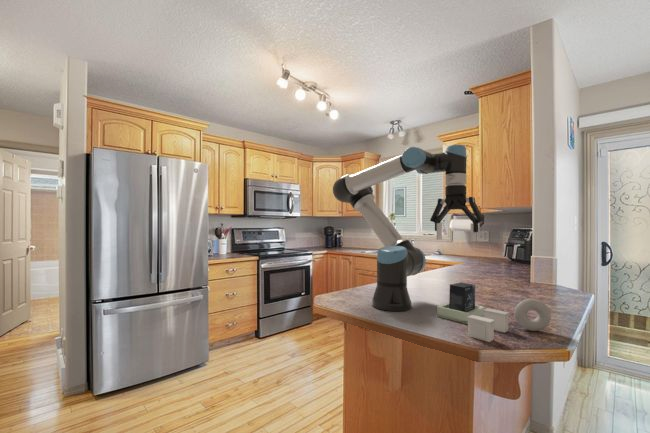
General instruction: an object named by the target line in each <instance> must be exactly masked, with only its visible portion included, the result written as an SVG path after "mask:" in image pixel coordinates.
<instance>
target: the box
mask: <svg viewBox="0 0 650 433" xmlns="http://www.w3.org/2000/svg"><path fill="white" fill-rule="evenodd" d="M448 300H449V302H448V303H449V309H453V310H458V311H462V312H469V311H472V310H474V309H475V305H476V284H472V283H466V282H462V281H461V282H457V283H451V284H449V298H448Z"/></svg>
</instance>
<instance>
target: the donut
mask: <svg viewBox="0 0 650 433" xmlns="http://www.w3.org/2000/svg"><path fill="white" fill-rule="evenodd" d="M532 310H533V311H536V312H537V317H536V318H535V319H530V318H528V313H529V311H532ZM513 315H514V319H515V321H516V322H517V324H518V325H519V326H520V327H521V328H523V329H525V330H527V331H530V332H539V331H542V330H544V329H546V328H547V327H548V326H549V325H550V323H551V320H552V314H551V310H550V308H549V306H547V304H545V303H544V302H543V301H541V300H539V299H535V298H525V299H522V300H521V301H519V302H518V303H517V305H516V306H515V308H514V312H513Z"/></svg>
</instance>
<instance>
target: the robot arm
mask: <svg viewBox="0 0 650 433" xmlns="http://www.w3.org/2000/svg"><path fill="white" fill-rule="evenodd" d="M467 158H468V156H467V148H466V146H465V145H463V144H450V145H448V146H446V148H445V150H444V152H441V153H439V152H438V153H431V152H428V151H426V150H424V149H423V148H421V147H415V146H409V147H407V148H406V149H404V150H403V152H402V154H400V155H397V156H395V157H392V158H390V159H388V160H385V161H383V162H380V163H378V164H376V165H374V166H371V167H368V168H366V169H364V170H361V171H359V172H356V173H354V174H352V173H348V174H345V175H343V176H340V177H339V178H337V179H336V180H335V182H334V183H333V186H332V193H333V196H334V198H335V199H336V200H337V201H339V202H340V203H347V204H350V205H351V207H352V208H353V210H354V211H356V212H360V214H361V216H362V217H363V218H364V219H365V221H366V223H368V225H369V227H370V228H371V229H372V230H373V233H374V234H375V235H376V236H377V237H378V239H379V240H380V241H381V244H382V245H383V247H380V248H378V250H377V253H376V254H377V255H376V288H375V291H374V294H373V296H372V299H371V301H372V302H371V303H372V304H371V305H372V307H374V308H376V309H378V310H381V311H387V312H405V311H409V310H411V309H412V300H411V297H410V293H409V290H408V286H407V285H408V277H411V276H415V275H417V274H420V273H421V272H423V270H424V269H425V267H426V260H427V259H426V256H425V254H424V252H423V251H422V249H420V248H418V247H415V246H414V245H413V244H412V243H411V241H410V240H409V239H405V238H403V237H402V235H401V234H400V232H399V231H398V230H397V228H395V226H394V225H393V223H392V222H391V221H390V219H389V218H388V217H387V216H386V214H385V213H384V212H383V210H382V209H381V207H380V206H379V205H378V204H377V203H376V201H375V199H376V198H375V197H376V196H375V195H374V189H373V186H375V185H378V184H380V183H384V182H386V181H389V180H391V179H394V178H396V177H399V176H403V175H405V174H407V173H411V172H414V171H416V172H417V174H419V175H422V174H423V175H424V174H425V175H428V174H434V173H442V172H443V173H444V172H445V174H444V175H445V192H444V193H445V197H444V198H438V199H437V204H436V206H435V208H434V211H433V213H432V215H431V217H430V220H429V221H430V222H432V223H434V231H435V232H436V240H442V238H443V223H442V221H443V219H444V218H445V217H446V216H447V214H448V213H449V212H450V211H453V210H454V211H455V210H462V212H463V213H464V214H465V215H466V216H467V218H469V220H470V221H471V223H470V242H477V233H479V225H480V223H483V222H484V221H485V218H484V217H483V215H482V213H481V210H480V209H479V206H478V205H477V203H476V197H473V196H468V197H467V186H466V185H467V161H468V159H467ZM466 203H468V204H469V205H470V206H469V207H471V210H472V211H471V210H470V209H469V207H468V206H467V205H466ZM444 205H445V206H444ZM443 206H444V207H443ZM441 210H442V211H441Z"/></svg>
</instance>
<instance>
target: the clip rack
mask: <svg viewBox="0 0 650 433" xmlns="http://www.w3.org/2000/svg"><path fill="white" fill-rule="evenodd" d="M483 312H484V317H480V316H475V315H470V316H468V317H467V319H468V324H467V337H470V338H473V339H477V340H481V341H483V342H488V343H490V342H492V341H493V340H494V339H495V338H494V336H495V335H494V333H495V332H494V331H496V332H499V333H507V332H508V331H509V315H510V312H509V311H504V310H500V309H499V310H498V309H494V308H489V307H485V309H484V310H483Z"/></svg>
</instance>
